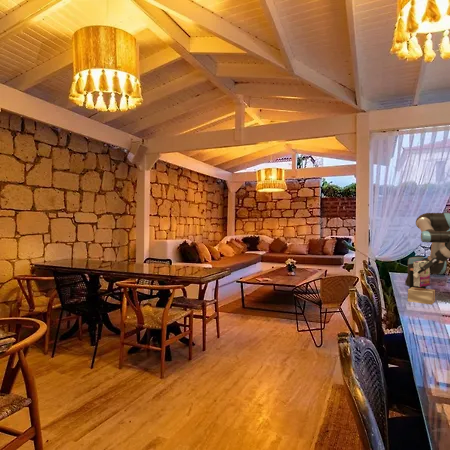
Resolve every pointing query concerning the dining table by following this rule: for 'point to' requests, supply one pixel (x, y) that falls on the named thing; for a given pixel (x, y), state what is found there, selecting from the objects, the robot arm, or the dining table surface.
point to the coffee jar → (411, 282)
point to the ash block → (421, 295)
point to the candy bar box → (422, 278)
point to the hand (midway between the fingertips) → (417, 274)
